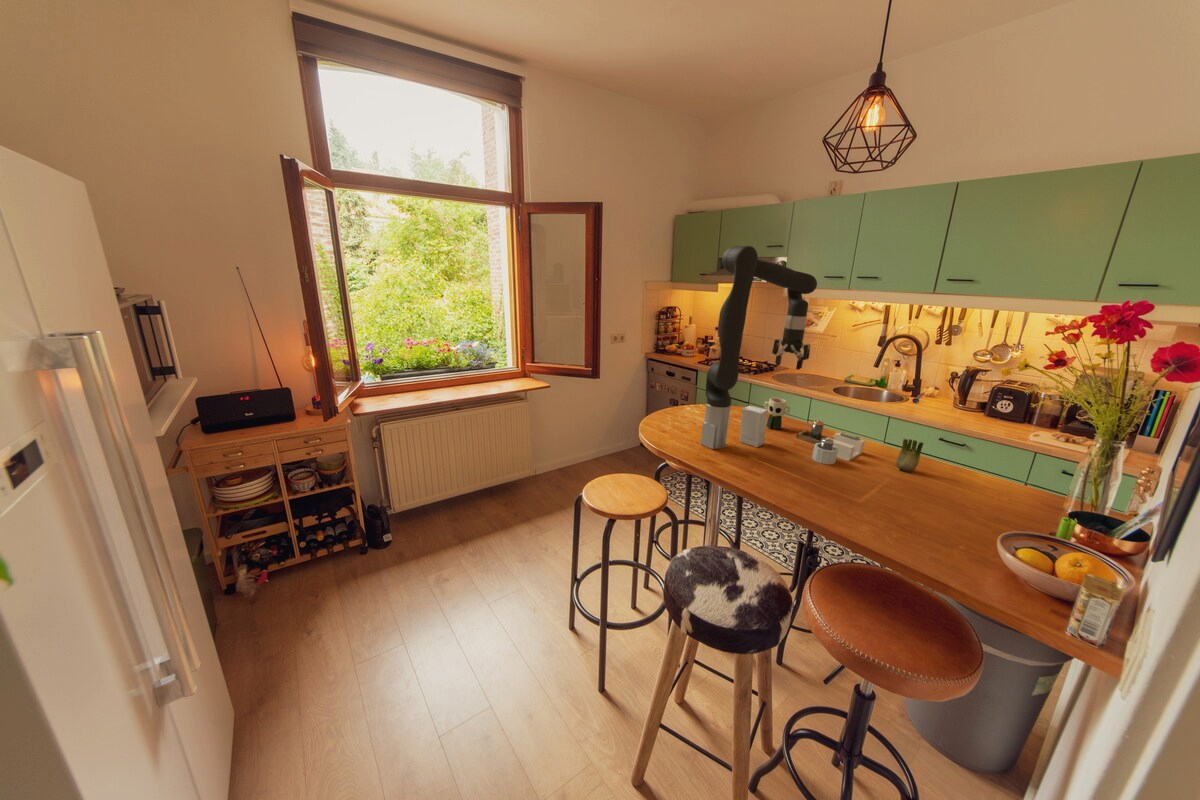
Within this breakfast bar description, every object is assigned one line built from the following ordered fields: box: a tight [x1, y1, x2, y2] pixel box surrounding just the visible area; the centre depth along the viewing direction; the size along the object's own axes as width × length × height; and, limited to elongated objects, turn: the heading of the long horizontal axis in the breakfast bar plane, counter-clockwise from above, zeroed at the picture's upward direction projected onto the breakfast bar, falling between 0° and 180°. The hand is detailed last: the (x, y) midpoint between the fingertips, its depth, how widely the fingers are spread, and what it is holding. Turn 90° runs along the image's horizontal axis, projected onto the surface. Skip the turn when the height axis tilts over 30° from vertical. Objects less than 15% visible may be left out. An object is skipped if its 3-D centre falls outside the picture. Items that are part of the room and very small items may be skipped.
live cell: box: [810, 420, 824, 441], centre depth 176 cm, size 4×4×8 cm
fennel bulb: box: [895, 438, 925, 473], centre depth 153 cm, size 6×5×12 cm
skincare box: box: [739, 405, 768, 448], centre depth 173 cm, size 8×6×15 cm
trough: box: [796, 429, 833, 445], centre depth 177 cm, size 8×12×2 cm, turn 39°
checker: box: [829, 431, 865, 462], centre depth 166 cm, size 12×10×7 cm
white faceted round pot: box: [811, 443, 838, 465], centre depth 159 cm, size 8×8×6 cm
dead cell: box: [820, 437, 834, 451], centre depth 158 cm, size 4×4×8 cm
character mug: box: [763, 397, 791, 430], centre depth 190 cm, size 11×7×13 cm, turn 51°
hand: (787, 367), depth 174 cm, fingers open, 8 cm apart
